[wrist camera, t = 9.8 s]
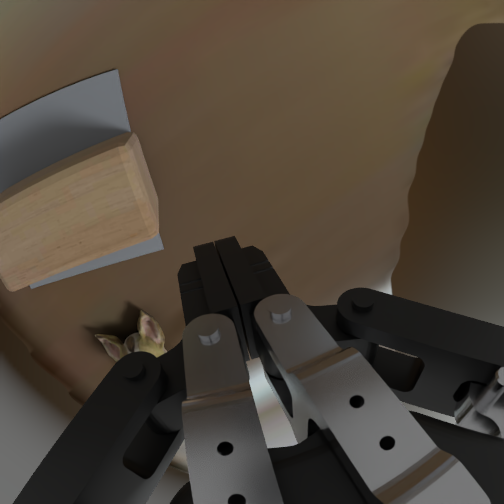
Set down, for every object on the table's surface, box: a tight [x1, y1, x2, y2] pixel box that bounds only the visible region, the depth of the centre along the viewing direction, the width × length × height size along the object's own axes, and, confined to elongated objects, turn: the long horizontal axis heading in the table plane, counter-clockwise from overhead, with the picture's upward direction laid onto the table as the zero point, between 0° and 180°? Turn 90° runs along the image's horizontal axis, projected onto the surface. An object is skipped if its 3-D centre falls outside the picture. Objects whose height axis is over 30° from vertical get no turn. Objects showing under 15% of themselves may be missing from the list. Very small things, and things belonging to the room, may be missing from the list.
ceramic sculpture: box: [95, 310, 167, 362], centre depth 44 cm, size 11×9×15 cm
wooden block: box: [0, 132, 159, 292], centre depth 28 cm, size 10×10×20 cm
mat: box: [0, 69, 164, 289], centre depth 32 cm, size 24×22×1 cm
